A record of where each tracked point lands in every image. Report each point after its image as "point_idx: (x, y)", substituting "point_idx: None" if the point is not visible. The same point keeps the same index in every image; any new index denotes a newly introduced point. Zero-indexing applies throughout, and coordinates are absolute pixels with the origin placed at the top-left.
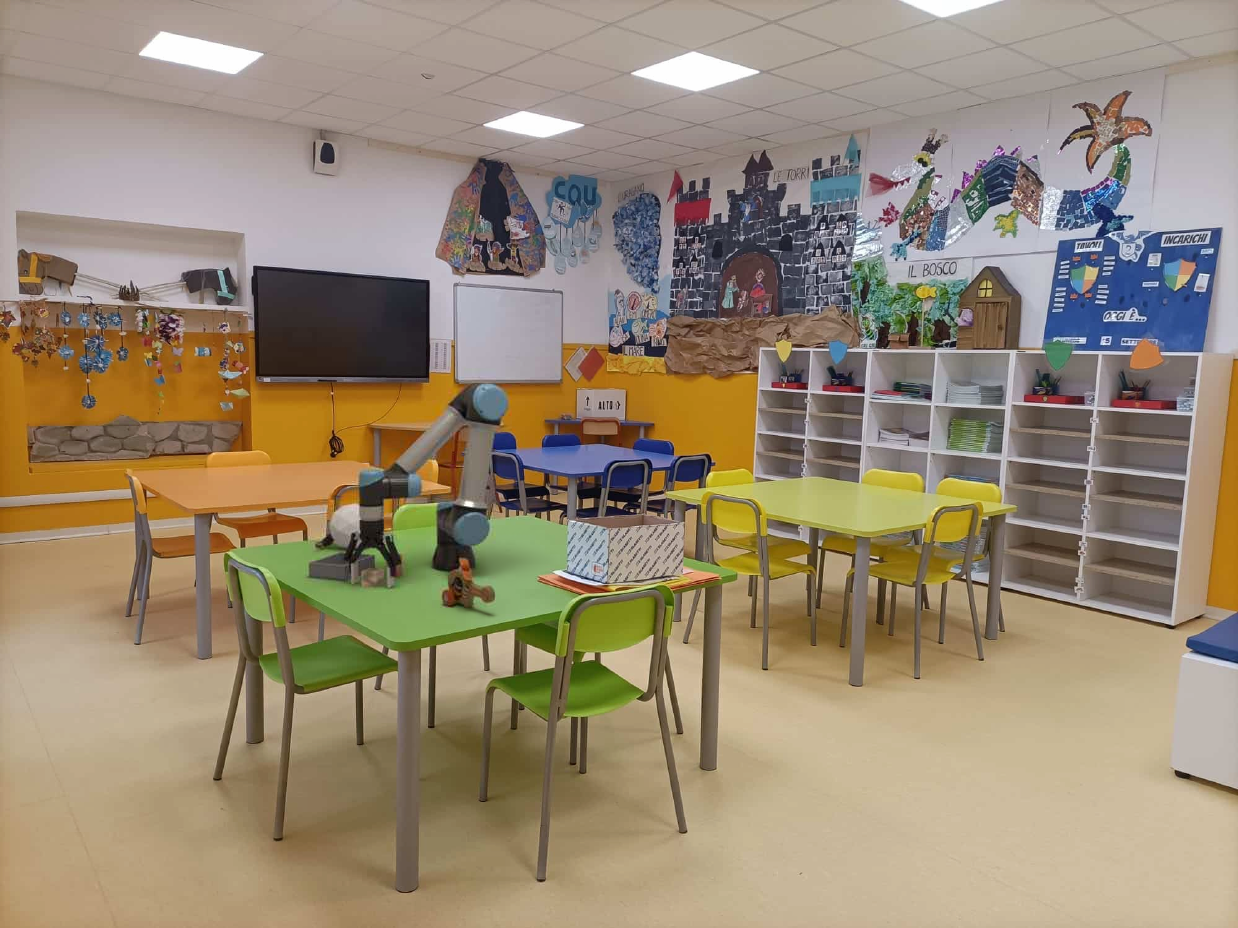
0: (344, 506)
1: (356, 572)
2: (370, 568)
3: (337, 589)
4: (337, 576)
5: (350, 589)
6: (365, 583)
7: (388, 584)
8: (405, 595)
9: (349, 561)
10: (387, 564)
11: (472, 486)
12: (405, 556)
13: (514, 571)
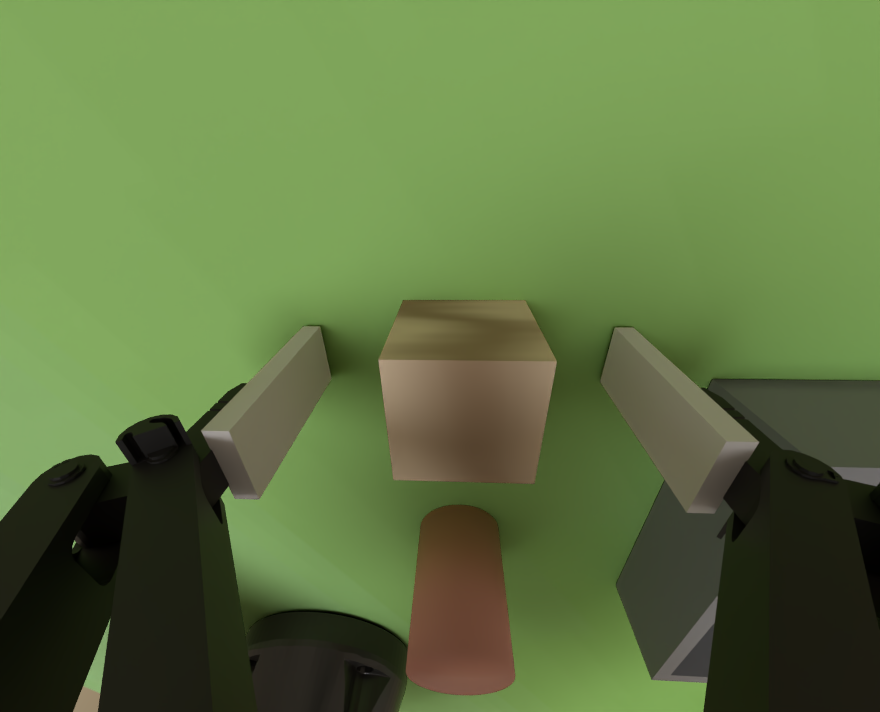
0: None
1: (641, 413)
2: (522, 470)
3: (704, 128)
4: (803, 397)
5: (574, 180)
6: (492, 310)
7: (300, 335)
8: (30, 182)
9: (812, 464)
10: (488, 586)
11: None
12: (570, 690)
13: (104, 638)
